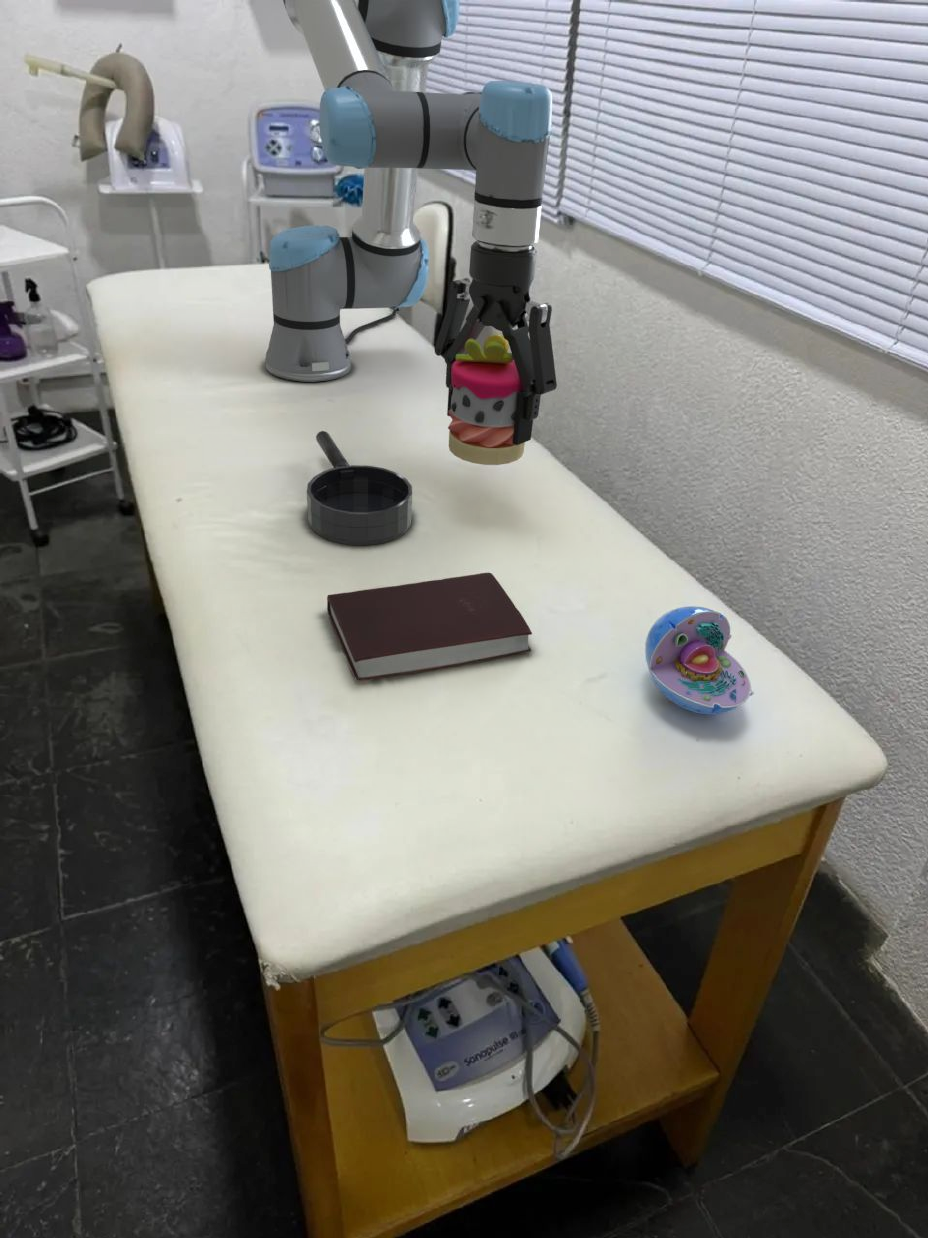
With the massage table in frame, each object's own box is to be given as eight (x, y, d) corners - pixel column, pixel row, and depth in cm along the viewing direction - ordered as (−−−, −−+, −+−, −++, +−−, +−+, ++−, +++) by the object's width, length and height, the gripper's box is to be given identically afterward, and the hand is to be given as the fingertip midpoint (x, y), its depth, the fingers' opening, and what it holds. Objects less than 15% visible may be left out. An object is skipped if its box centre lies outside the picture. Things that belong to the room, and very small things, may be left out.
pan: (425, 536, 109) (427, 505, 106) (323, 552, 104) (322, 520, 102) (392, 489, 119) (392, 460, 116) (297, 502, 114) (295, 471, 112)
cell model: (685, 748, 81) (709, 669, 75) (616, 672, 89) (633, 596, 84) (766, 723, 84) (795, 646, 79) (693, 652, 93) (714, 579, 87)
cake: (447, 429, 115) (454, 316, 106) (525, 434, 115) (538, 322, 106) (443, 462, 106) (450, 343, 98) (527, 469, 106) (542, 350, 98)
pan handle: (354, 480, 115) (354, 467, 114) (340, 482, 114) (339, 468, 113) (328, 440, 124) (327, 428, 123) (314, 442, 124) (314, 429, 123)
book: (326, 614, 94) (325, 589, 92) (488, 589, 100) (491, 566, 98) (354, 685, 85) (354, 660, 83) (531, 654, 91) (534, 629, 89)
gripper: (409, 226, 100) (404, 406, 113) (565, 270, 88) (539, 466, 101) (453, 220, 104) (443, 393, 117) (606, 261, 92) (577, 449, 105)
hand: (487, 427), depth 109 cm, fingers closed on cake, 10 cm apart
